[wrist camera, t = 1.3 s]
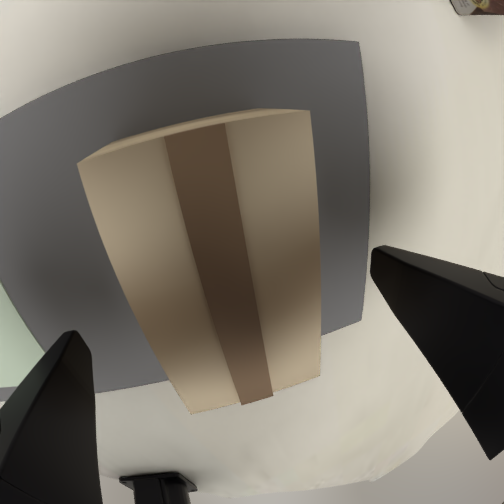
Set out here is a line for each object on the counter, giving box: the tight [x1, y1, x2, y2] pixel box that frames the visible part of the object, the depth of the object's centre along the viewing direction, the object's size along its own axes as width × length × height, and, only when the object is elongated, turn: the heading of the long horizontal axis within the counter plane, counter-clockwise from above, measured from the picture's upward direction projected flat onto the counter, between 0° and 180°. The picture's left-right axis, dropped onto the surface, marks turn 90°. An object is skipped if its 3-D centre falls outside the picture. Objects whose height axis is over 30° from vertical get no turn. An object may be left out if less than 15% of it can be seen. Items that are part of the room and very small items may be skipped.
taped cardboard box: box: [77, 108, 321, 414], centre depth 9 cm, size 9×5×4 cm, turn 9°
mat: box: [0, 39, 370, 401], centre depth 10 cm, size 14×28×1 cm, turn 99°
